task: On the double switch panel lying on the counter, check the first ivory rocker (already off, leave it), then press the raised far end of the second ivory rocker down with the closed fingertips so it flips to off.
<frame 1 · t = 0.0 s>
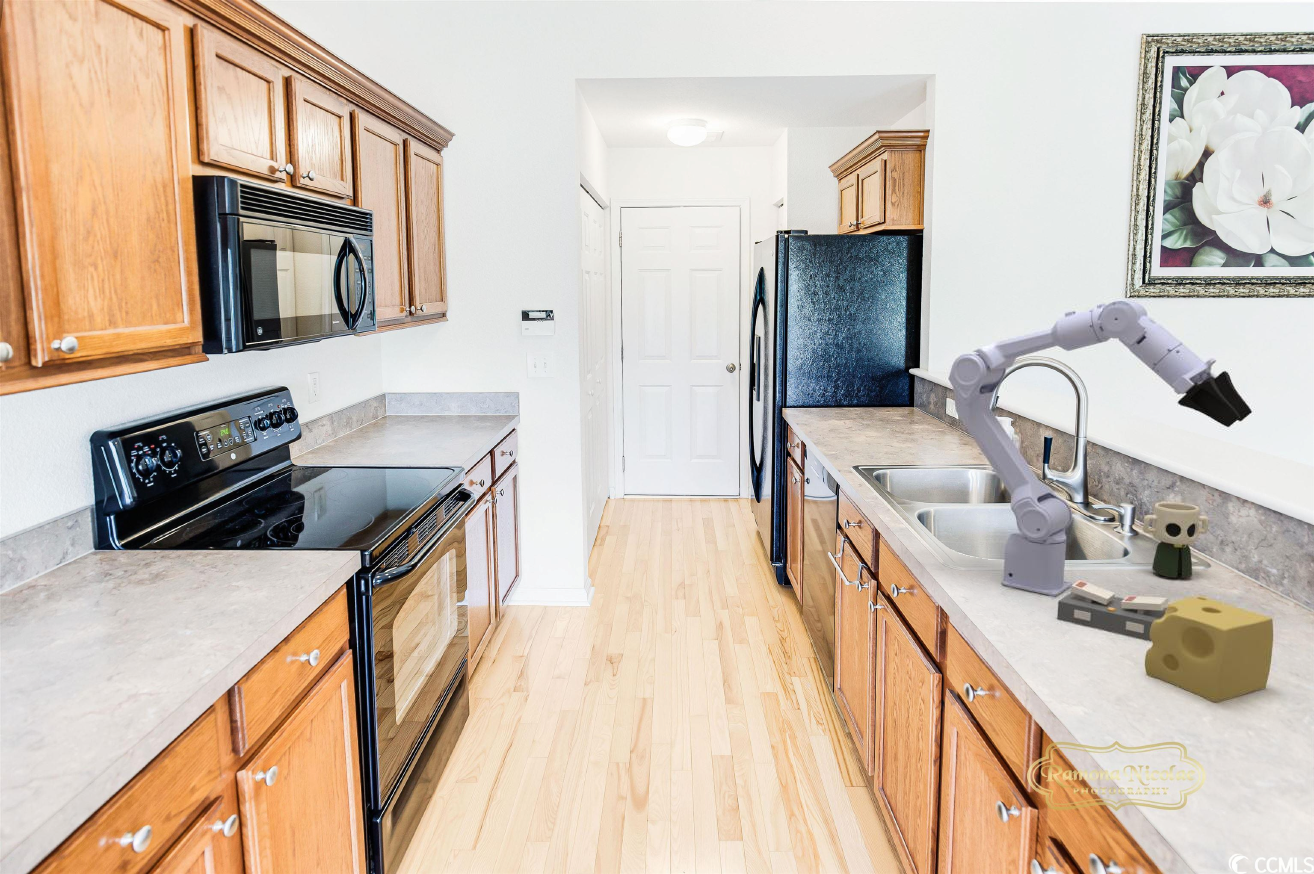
hand: (1240, 419, 130), 32 cm above the countertop, tool tilted 50°, fingers open, 7 cm apart
character mug: (1171, 576, 159), on the countertop
rocker 1: (1092, 591, 139), point 4 cm above the countertop, hinge at 10.0°
rocker 2: (1144, 602, 133), point 4 cm above the countertop, hinge at -10.0°
cheese: (1206, 683, 116), on the countertop
double switch panel: (1116, 623, 137), on the countertop
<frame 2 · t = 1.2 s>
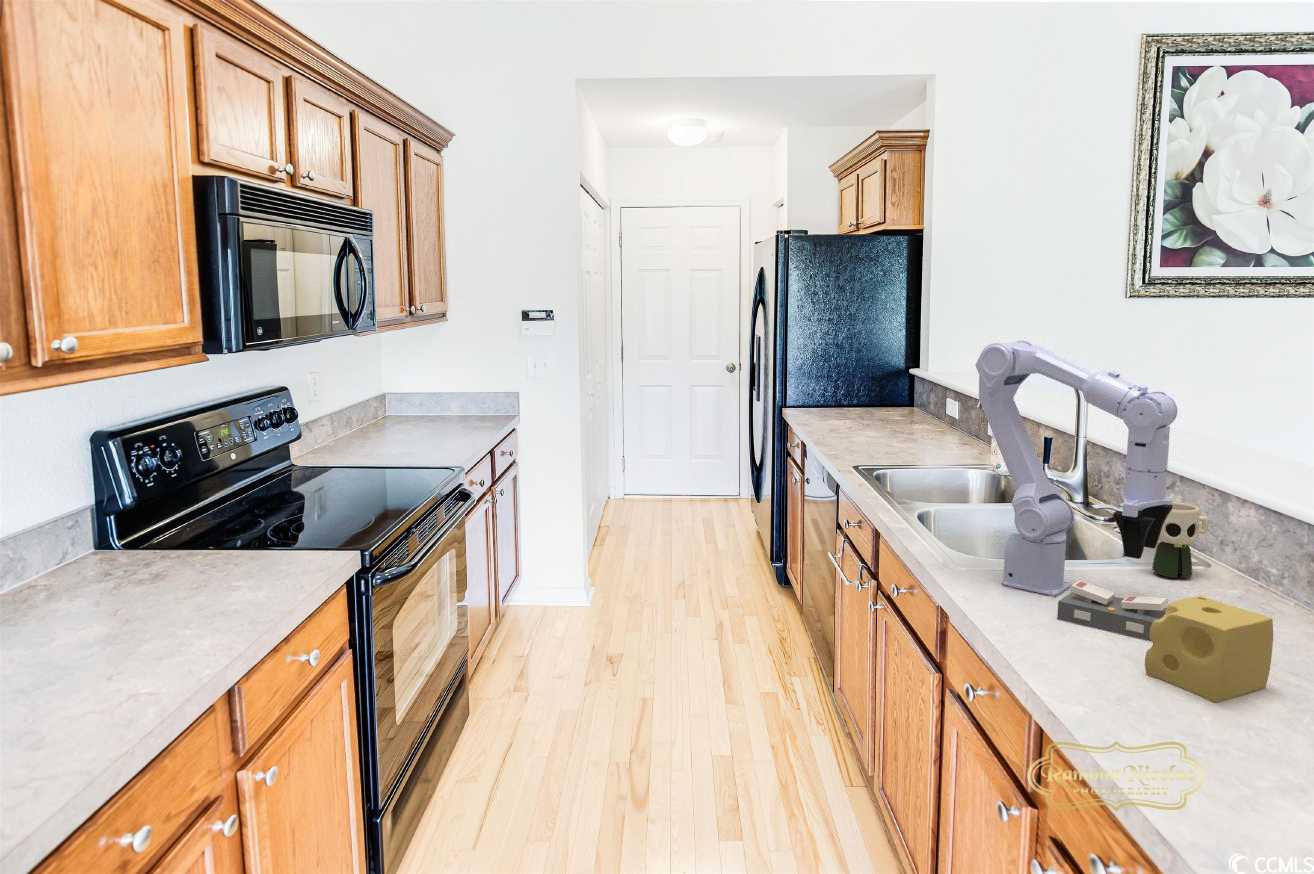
hand: (1140, 552, 140), 10 cm above the countertop, tool pointing down, fingers open, 7 cm apart
nothing on the countertop moved.
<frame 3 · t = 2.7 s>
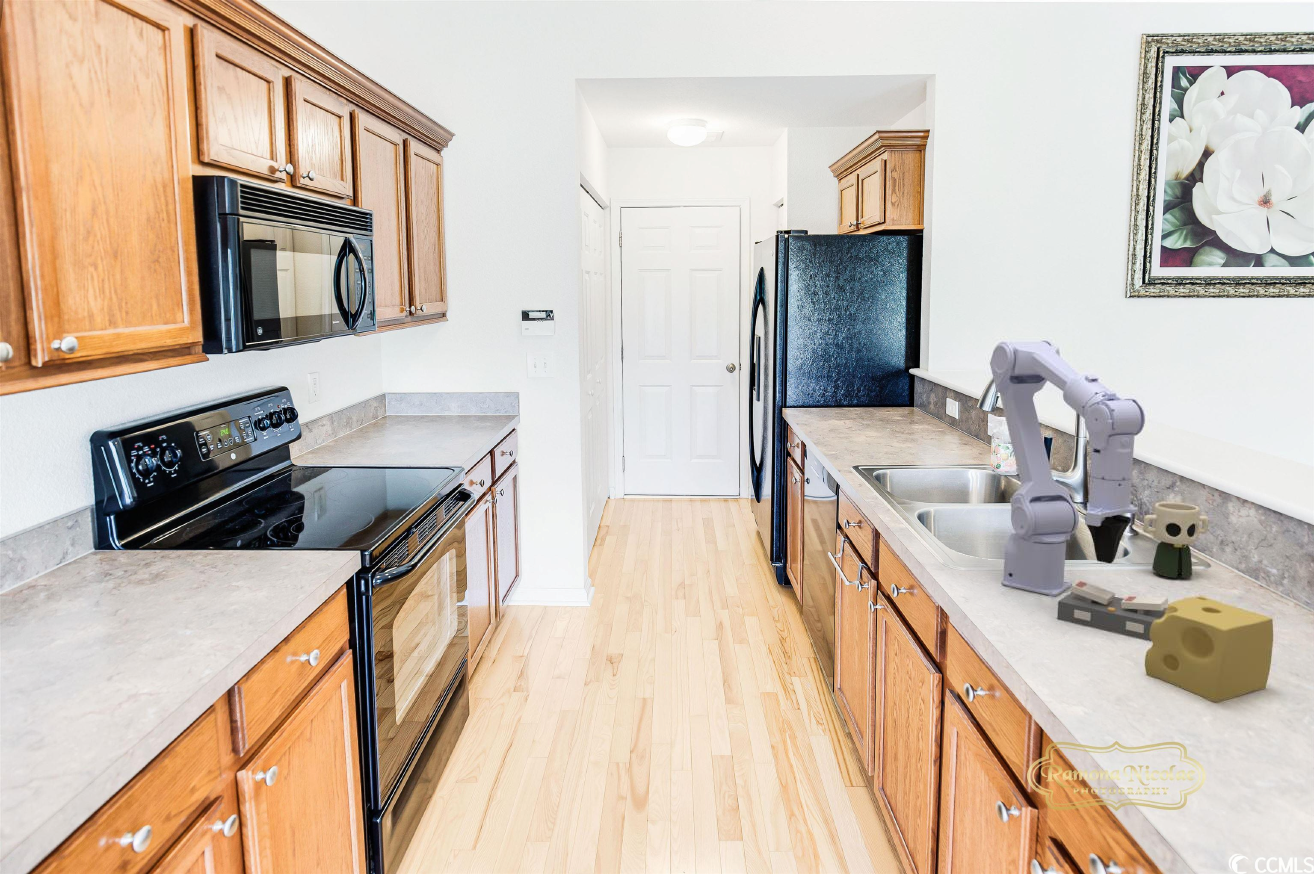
hand: (1105, 561, 138), 9 cm above the countertop, tool pointing down, fingers closed
nothing on the countertop moved.
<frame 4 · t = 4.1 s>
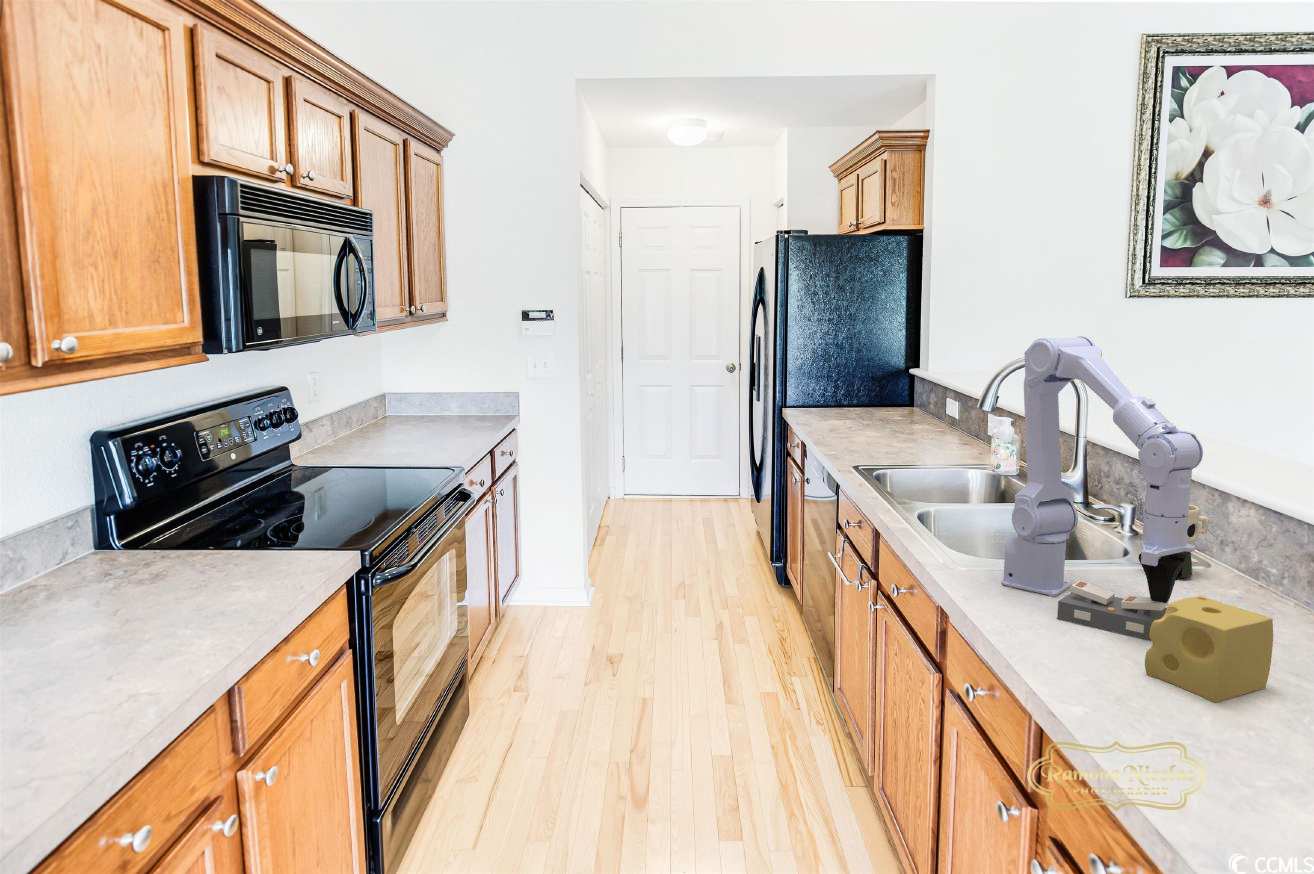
hand: (1159, 600, 132), 5 cm above the countertop, tool pointing down, fingers closed, pressing on rocker 2
rocker 2: (1144, 602, 133), point 4 cm above the countertop, hinge at -10.0°, touching gripper
everything else where it was.
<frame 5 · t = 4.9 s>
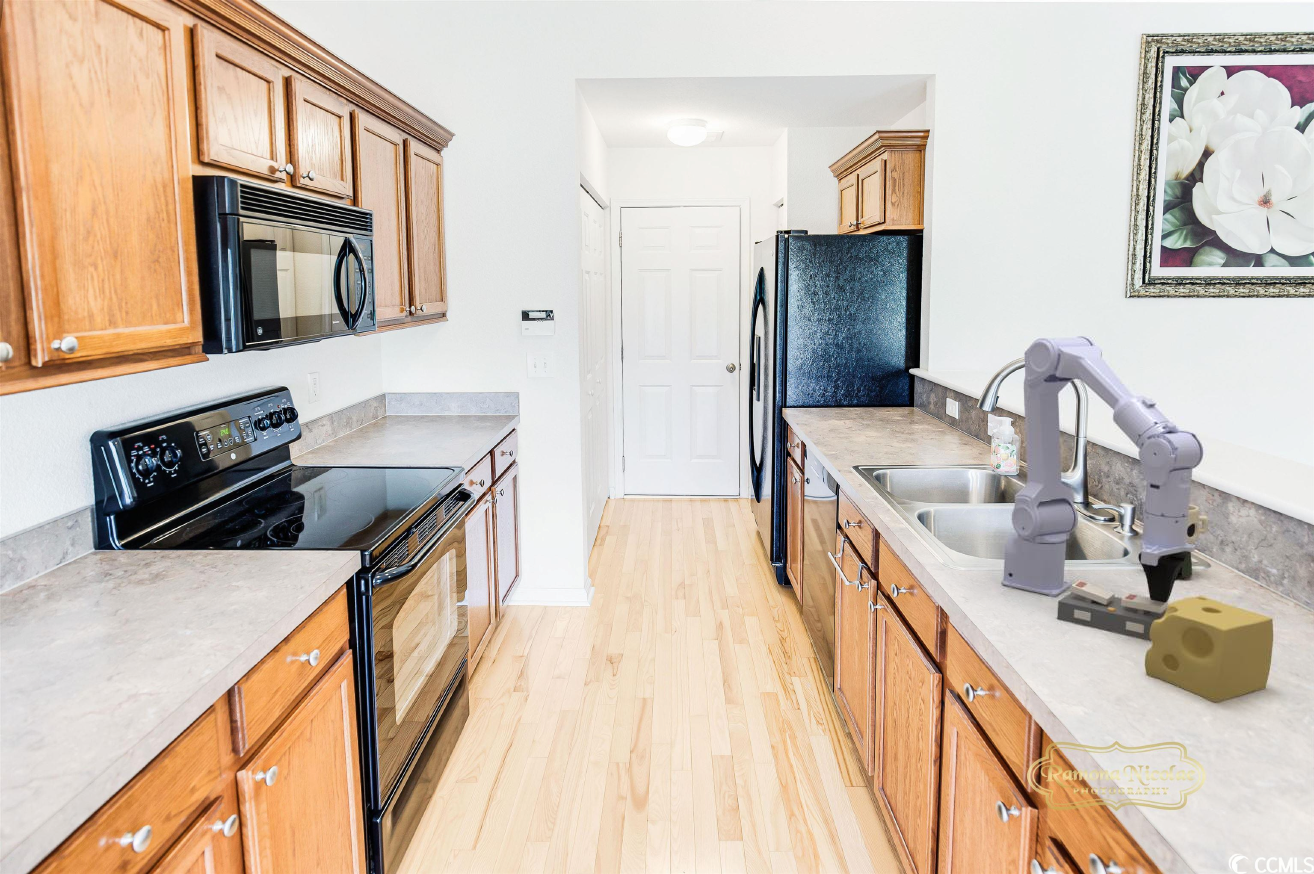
hand: (1159, 600, 132), 5 cm above the countertop, tool pointing down, fingers closed
rocker 2: (1144, 602, 133), point 4 cm above the countertop, hinge at -1.2°
everything else where it was.
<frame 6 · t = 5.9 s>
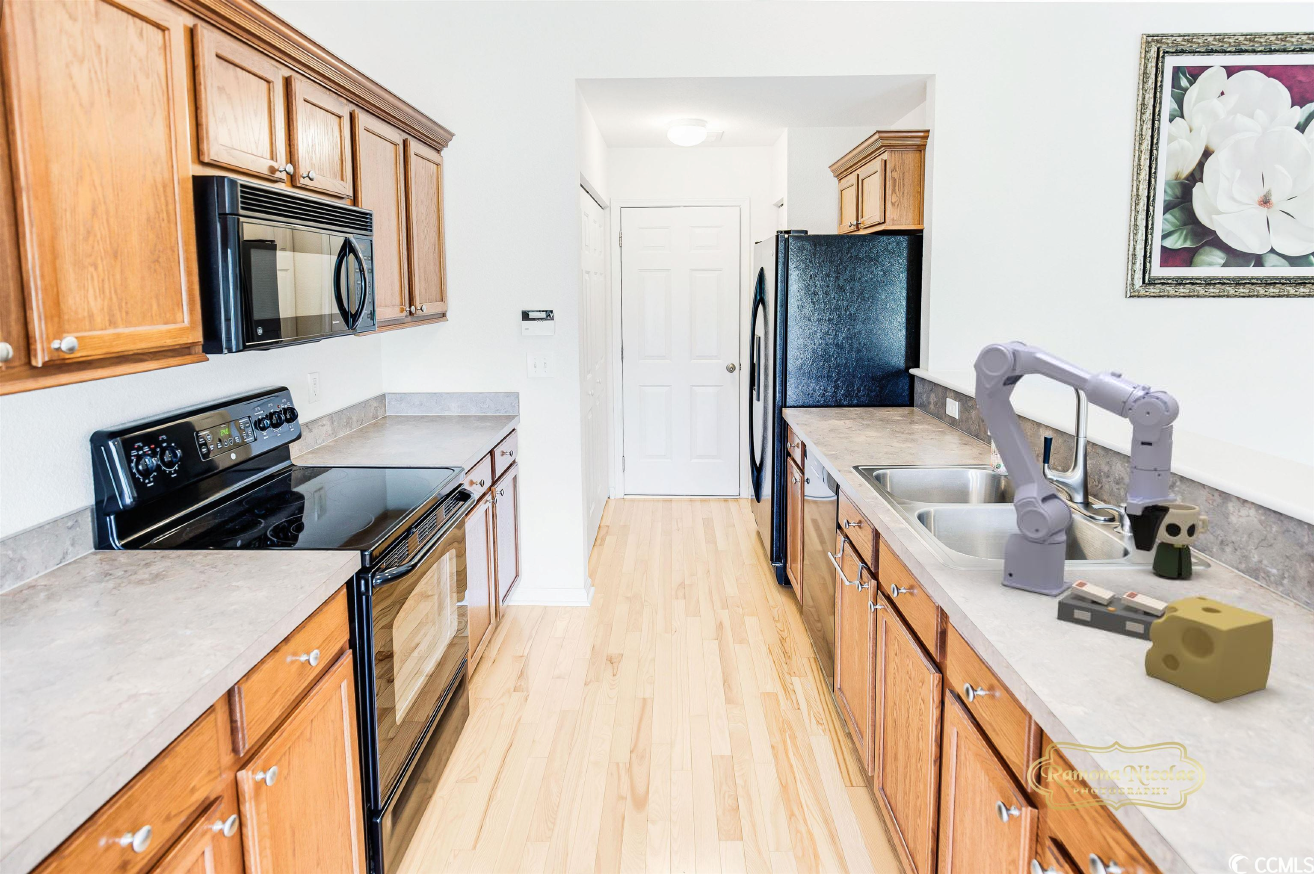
hand: (1144, 549, 142), 10 cm above the countertop, tool pointing down, fingers closed
rocker 2: (1144, 602, 133), point 4 cm above the countertop, hinge at 8.5°
everything else where it was.
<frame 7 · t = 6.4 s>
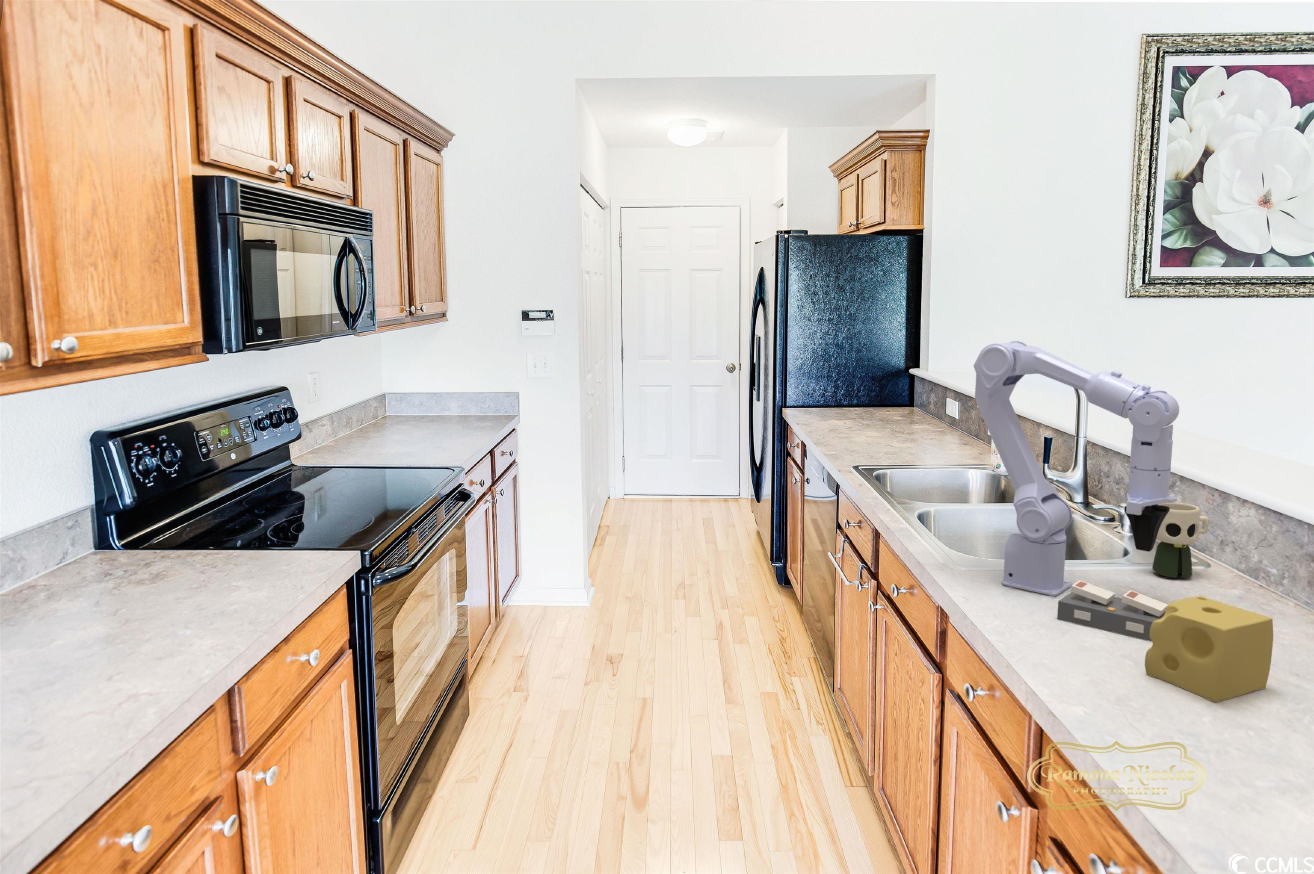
hand: (1144, 549, 142), 10 cm above the countertop, tool pointing down, fingers closed
rocker 2: (1144, 602, 133), point 4 cm above the countertop, hinge at 11.7°
everything else where it was.
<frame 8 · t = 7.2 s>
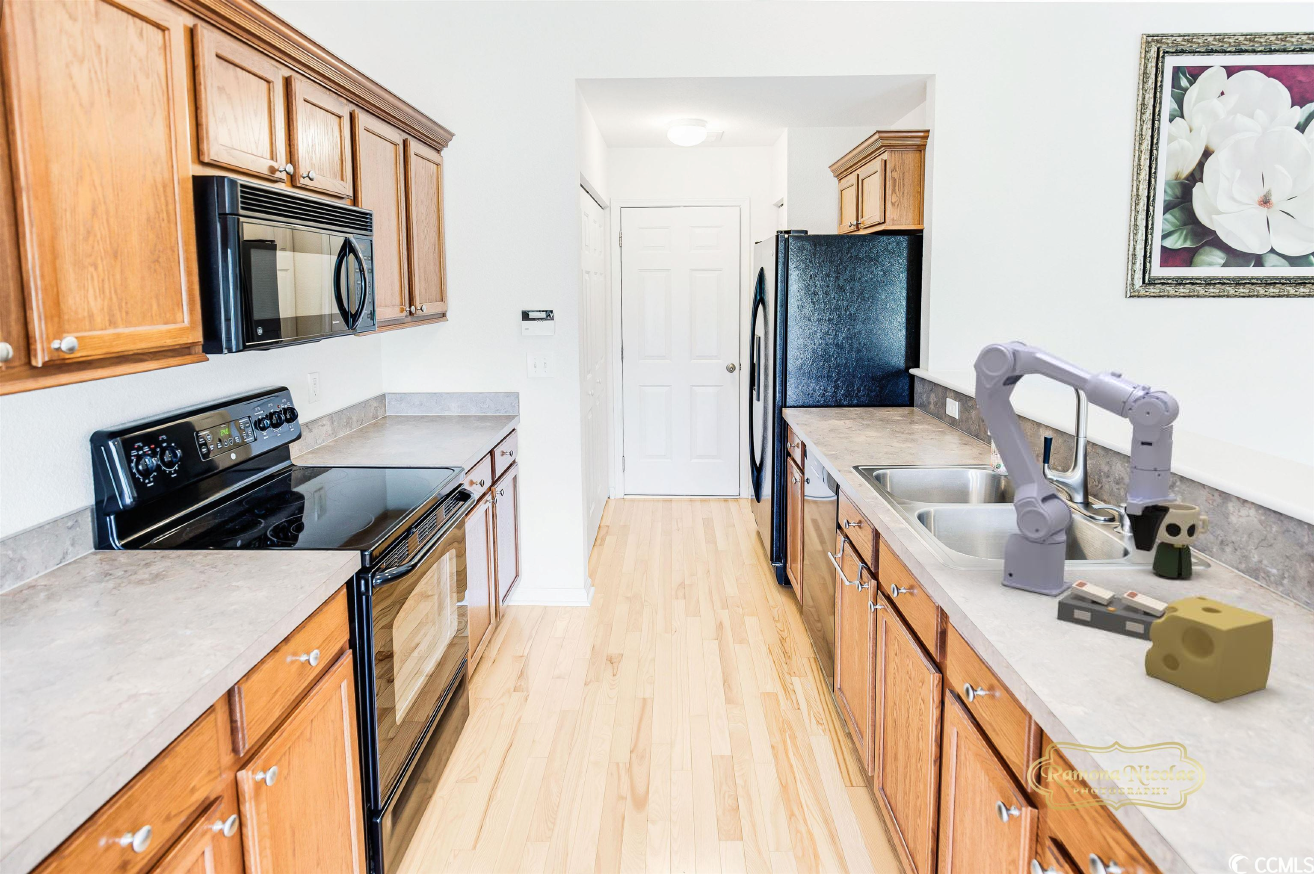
hand: (1144, 549, 142), 10 cm above the countertop, tool pointing down, fingers closed
rocker 2: (1144, 602, 133), point 4 cm above the countertop, hinge at 10.9°
everything else where it was.
at the end: rocker 2 at +11° (first picture: -10°); rocker 1 at +10° (first picture: +10°) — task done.
